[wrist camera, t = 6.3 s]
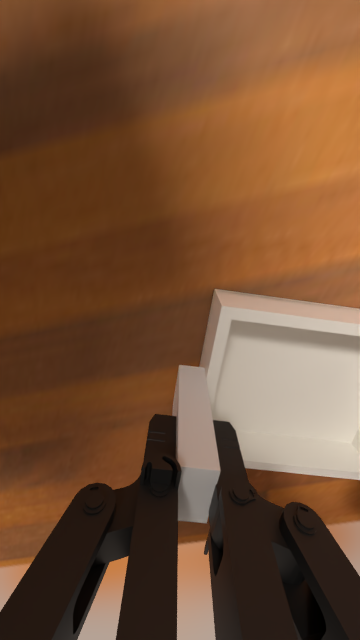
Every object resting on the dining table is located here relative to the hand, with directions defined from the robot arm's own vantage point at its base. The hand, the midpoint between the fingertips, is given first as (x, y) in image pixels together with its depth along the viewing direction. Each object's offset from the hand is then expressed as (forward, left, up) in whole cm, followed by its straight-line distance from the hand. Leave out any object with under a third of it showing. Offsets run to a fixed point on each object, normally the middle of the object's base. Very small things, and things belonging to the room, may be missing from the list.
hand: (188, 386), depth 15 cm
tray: (+7, 0, -2) cm, 7 cm away
